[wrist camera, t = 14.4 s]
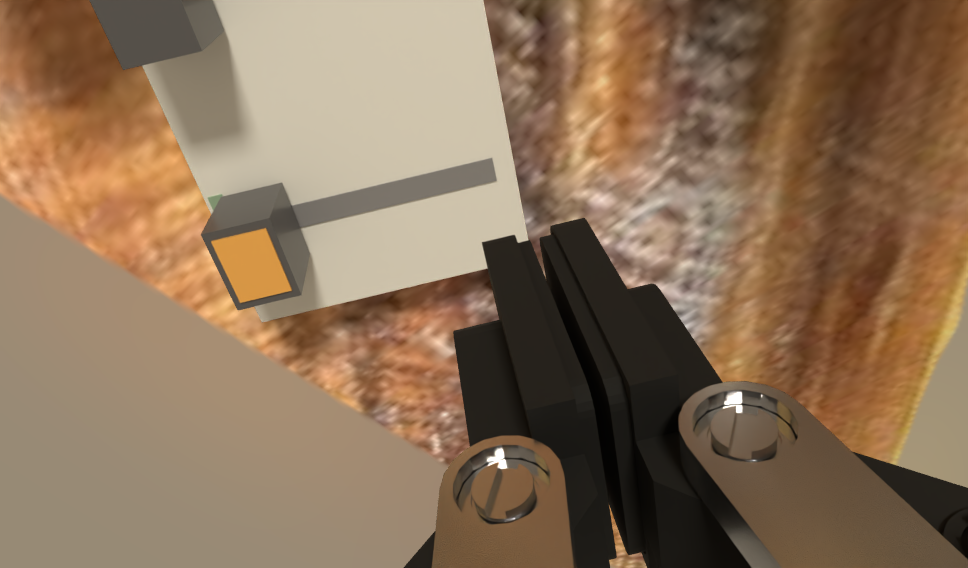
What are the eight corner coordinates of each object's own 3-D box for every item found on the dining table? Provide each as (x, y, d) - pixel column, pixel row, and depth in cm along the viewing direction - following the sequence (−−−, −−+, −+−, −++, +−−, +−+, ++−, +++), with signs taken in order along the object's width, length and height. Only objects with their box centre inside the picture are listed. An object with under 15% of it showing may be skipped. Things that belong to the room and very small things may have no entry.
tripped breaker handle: (282, 182, 32) (269, 219, 28) (310, 253, 34) (301, 296, 30) (220, 196, 32) (200, 235, 28) (252, 267, 34) (237, 311, 30)
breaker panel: (431, -238, 27) (436, -251, 24) (521, 233, 39) (531, 258, 36) (71, -152, 27) (37, -156, 24) (270, 293, 38) (261, 323, 36)
